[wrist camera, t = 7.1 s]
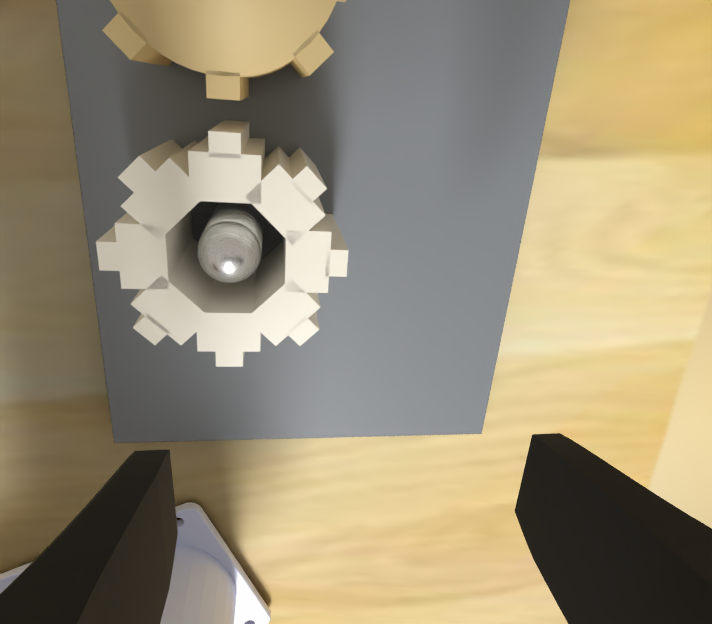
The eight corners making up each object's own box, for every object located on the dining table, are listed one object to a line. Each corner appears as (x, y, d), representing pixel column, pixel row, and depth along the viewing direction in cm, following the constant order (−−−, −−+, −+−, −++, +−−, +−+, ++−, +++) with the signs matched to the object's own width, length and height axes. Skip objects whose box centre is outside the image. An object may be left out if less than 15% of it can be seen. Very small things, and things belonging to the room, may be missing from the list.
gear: (116, 264, 16) (70, 316, 13) (179, 86, 14) (147, 87, 11) (285, 329, 18) (287, 391, 14) (359, 177, 16) (384, 203, 13)
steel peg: (225, 254, 17) (211, 301, 13) (202, 207, 16) (180, 243, 12) (272, 235, 17) (270, 278, 13) (251, 188, 16) (243, 219, 12)
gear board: (472, 419, 22) (531, 518, 17) (121, 426, 20) (68, 542, 15) (592, -198, 14) (766, -354, 9) (32, -301, 12) (-145, -582, 7)
